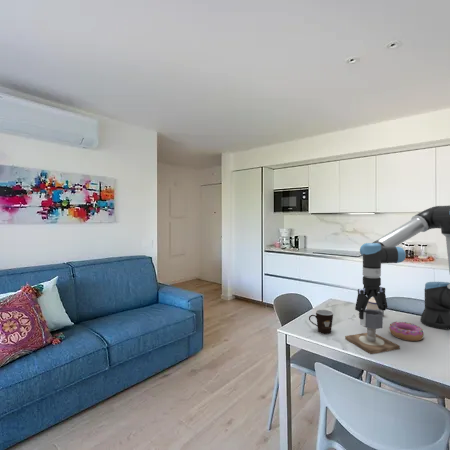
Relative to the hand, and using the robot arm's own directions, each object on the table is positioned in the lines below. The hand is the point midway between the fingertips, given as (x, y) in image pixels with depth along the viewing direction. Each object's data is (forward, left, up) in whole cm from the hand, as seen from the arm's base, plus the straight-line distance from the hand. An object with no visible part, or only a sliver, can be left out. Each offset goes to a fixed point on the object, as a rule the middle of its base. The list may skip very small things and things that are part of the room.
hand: (371, 324), depth 133 cm
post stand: (0, 0, -9) cm, 9 cm away
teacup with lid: (-31, -31, -9) cm, 45 cm away
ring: (0, 0, 0) cm, 0 cm away
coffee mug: (+13, -20, -9) cm, 26 cm away
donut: (-23, -2, -10) cm, 25 cm away
